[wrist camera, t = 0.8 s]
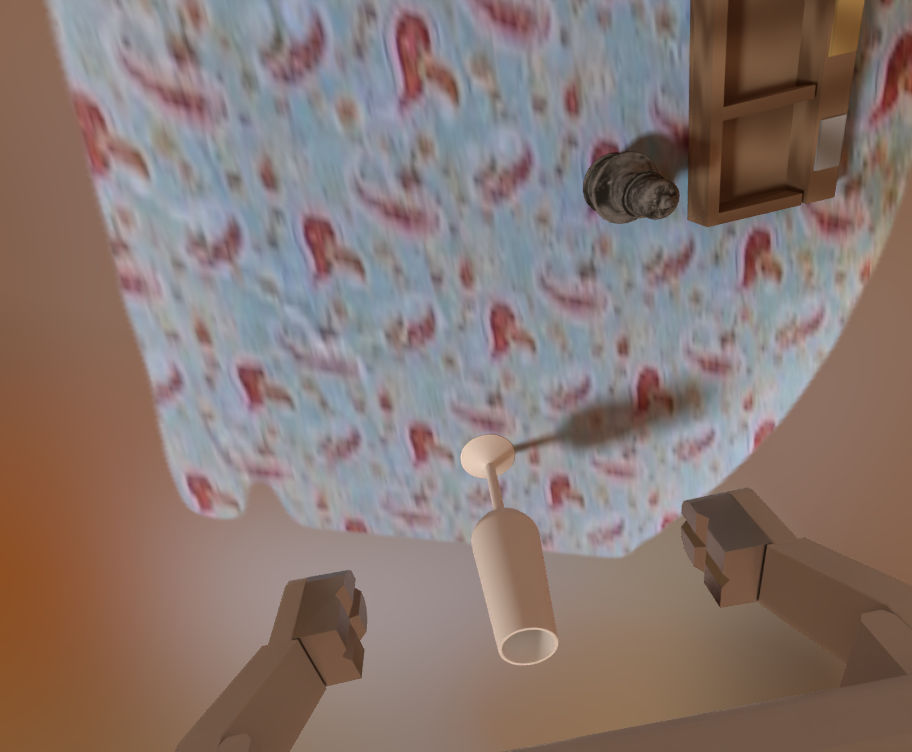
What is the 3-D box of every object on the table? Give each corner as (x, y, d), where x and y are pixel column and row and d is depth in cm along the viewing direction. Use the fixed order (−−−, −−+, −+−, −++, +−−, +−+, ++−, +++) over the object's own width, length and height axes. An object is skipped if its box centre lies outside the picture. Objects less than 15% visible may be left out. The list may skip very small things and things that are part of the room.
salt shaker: (653, 185, 45) (726, 204, 34) (603, 229, 47) (658, 261, 36) (619, 134, 43) (686, 138, 32) (567, 183, 44) (614, 202, 34)
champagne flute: (467, 483, 60) (495, 679, 39) (454, 441, 57) (477, 630, 36) (519, 471, 60) (575, 662, 39) (509, 428, 57) (565, 610, 36)
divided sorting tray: (690, -8, 38) (717, -21, 35) (835, -45, 38) (877, -62, 34) (687, 219, 47) (709, 227, 43) (805, 191, 46) (836, 197, 43)
